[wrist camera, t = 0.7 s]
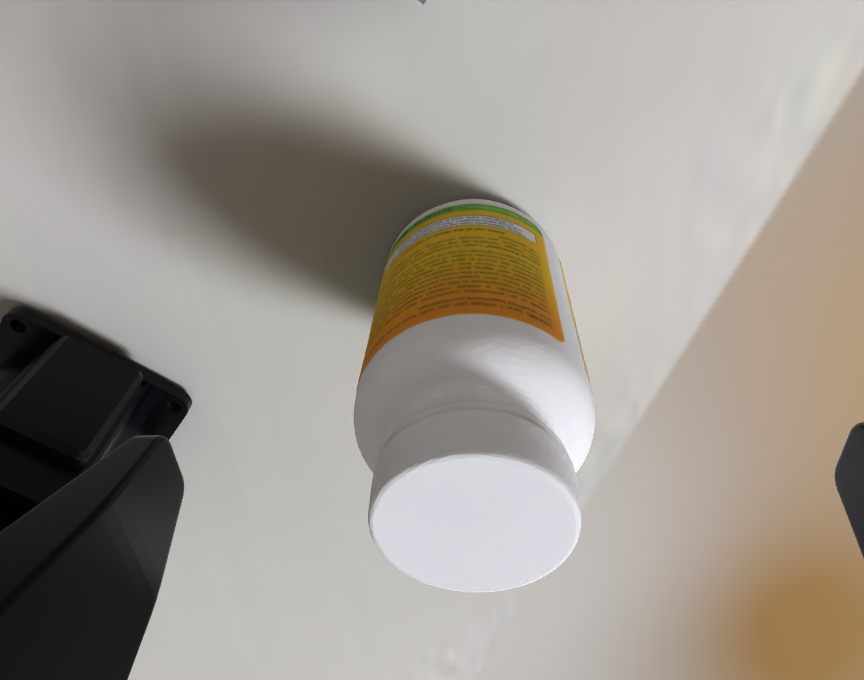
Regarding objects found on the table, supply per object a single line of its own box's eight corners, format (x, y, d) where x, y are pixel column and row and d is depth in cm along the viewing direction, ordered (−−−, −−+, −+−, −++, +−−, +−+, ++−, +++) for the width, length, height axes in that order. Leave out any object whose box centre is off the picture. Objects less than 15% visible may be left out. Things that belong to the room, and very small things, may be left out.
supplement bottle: (349, 254, 20) (267, 498, 12) (501, 157, 18) (526, 370, 10) (448, 373, 22) (435, 643, 14) (591, 298, 20) (670, 563, 12)
